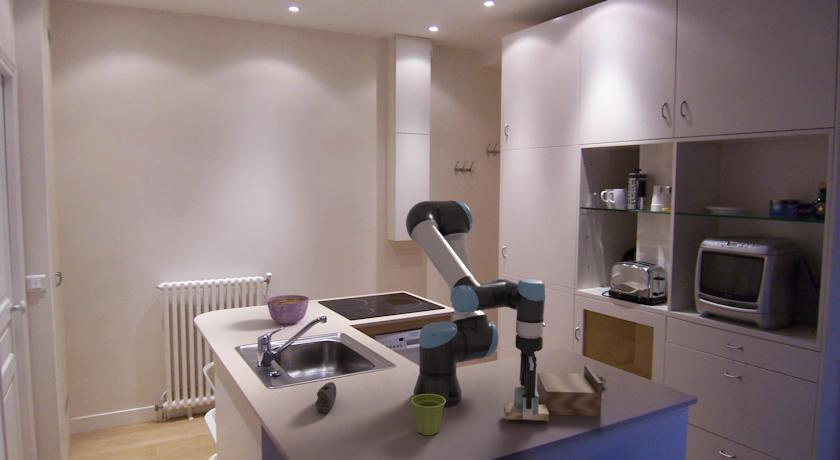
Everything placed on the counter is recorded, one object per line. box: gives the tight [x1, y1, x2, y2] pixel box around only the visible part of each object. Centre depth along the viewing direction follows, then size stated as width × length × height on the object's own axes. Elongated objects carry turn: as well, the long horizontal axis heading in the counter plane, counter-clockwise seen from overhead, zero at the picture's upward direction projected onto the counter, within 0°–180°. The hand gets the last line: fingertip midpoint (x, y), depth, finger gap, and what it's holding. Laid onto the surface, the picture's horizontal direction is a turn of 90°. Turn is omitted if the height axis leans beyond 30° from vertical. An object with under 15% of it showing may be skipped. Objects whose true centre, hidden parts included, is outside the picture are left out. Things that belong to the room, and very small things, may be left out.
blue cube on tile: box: [503, 386, 550, 422], centre depth 156 cm, size 12×6×7 cm, turn 87°
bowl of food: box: [266, 294, 310, 326], centre depth 262 cm, size 20×20×12 cm
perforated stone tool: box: [314, 381, 337, 414], centre depth 165 cm, size 15×5×7 cm, turn 176°
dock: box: [536, 364, 603, 417], centre depth 167 cm, size 16×16×10 cm
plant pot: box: [410, 394, 446, 436], centre depth 149 cm, size 9×9×9 cm
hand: (525, 413), depth 156 cm, fingers closed on blue cube on tile, 6 cm apart
